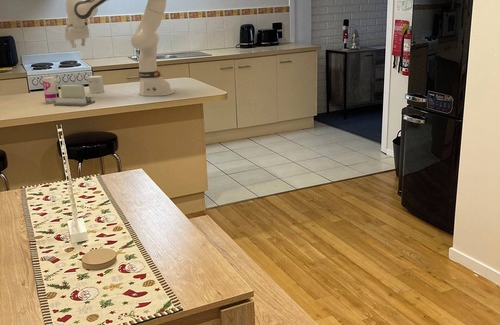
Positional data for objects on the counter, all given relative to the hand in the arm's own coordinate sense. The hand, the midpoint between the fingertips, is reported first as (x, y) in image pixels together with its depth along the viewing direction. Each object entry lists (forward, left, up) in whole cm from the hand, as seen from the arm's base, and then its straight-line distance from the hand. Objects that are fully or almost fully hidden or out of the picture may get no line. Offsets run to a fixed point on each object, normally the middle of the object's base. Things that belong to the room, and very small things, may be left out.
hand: (78, 46), depth 331 cm
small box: (+1, -15, -31) cm, 35 cm away
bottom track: (-7, +22, -31) cm, 39 cm away
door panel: (-7, +22, -30) cm, 38 cm away
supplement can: (+11, +18, -31) cm, 38 cm away
